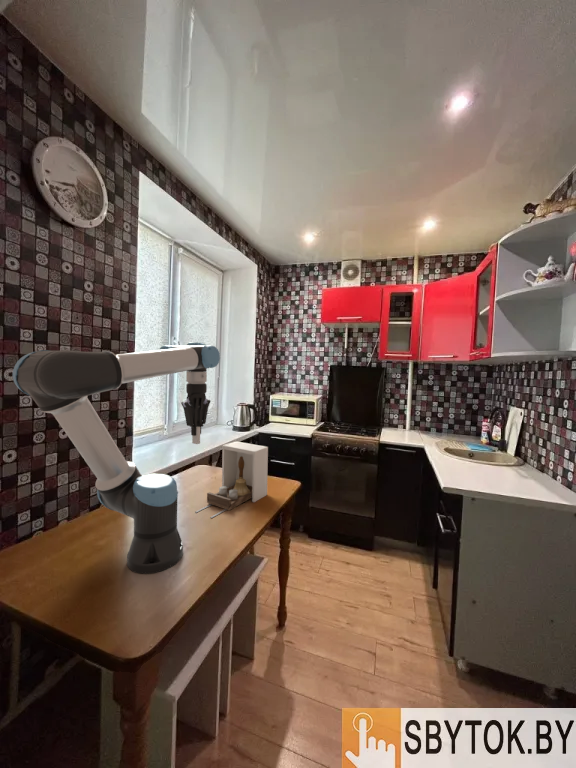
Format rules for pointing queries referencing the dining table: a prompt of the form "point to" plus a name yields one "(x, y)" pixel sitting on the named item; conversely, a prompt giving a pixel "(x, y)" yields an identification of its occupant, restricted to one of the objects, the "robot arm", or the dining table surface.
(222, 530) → the dining table surface
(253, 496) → the white upright box
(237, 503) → the tray
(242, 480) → the hand bell
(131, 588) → the dining table surface
